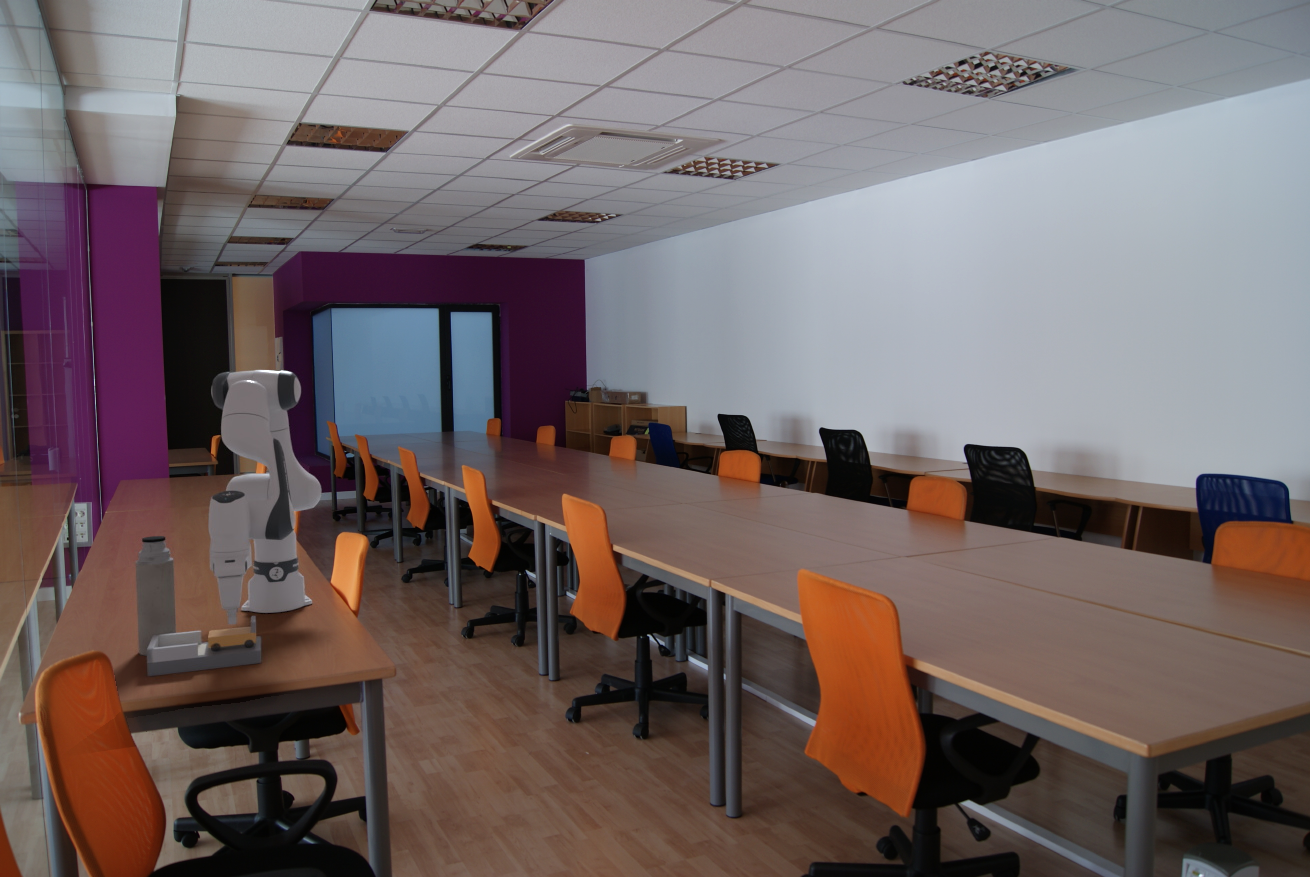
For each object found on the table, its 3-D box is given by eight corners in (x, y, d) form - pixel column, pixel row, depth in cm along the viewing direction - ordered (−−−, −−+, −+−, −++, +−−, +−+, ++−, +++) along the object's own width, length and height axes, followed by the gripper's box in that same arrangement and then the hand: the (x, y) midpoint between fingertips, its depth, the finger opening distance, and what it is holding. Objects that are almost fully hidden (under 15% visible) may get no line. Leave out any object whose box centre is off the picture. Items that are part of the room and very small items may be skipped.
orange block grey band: (210, 645, 206) (209, 620, 205) (256, 639, 210) (255, 615, 209) (208, 652, 200) (207, 626, 200) (256, 647, 204) (255, 622, 204)
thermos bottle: (150, 645, 215) (146, 534, 213) (182, 645, 215) (179, 534, 213) (132, 655, 207) (127, 540, 205) (165, 655, 207) (161, 540, 205)
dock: (154, 660, 204) (153, 635, 203) (261, 648, 213) (260, 624, 213) (147, 676, 193) (146, 649, 192) (261, 662, 202) (260, 637, 202)
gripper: (218, 552, 212) (220, 607, 213) (213, 571, 193) (216, 631, 195) (246, 550, 215) (248, 604, 216) (244, 569, 196) (247, 628, 197)
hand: (233, 617), depth 205 cm, fingers open, 8 cm apart
